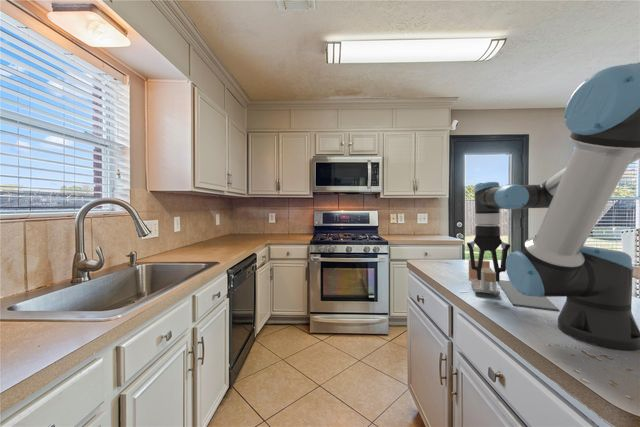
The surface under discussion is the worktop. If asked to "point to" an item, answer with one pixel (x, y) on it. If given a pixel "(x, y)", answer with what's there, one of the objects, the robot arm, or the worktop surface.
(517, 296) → the rubber mat
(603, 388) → the worktop surface
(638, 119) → the robot arm
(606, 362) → the worktop surface
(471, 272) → the terracotta tile
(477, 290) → the steel trowel
